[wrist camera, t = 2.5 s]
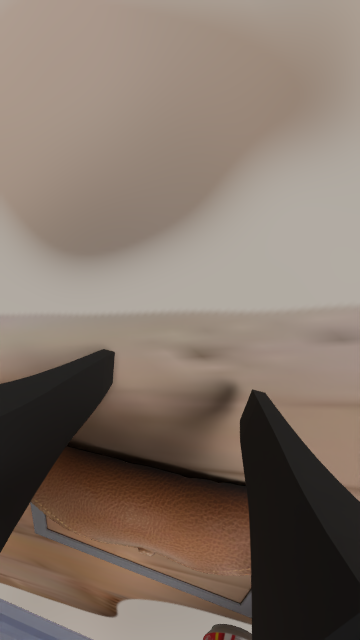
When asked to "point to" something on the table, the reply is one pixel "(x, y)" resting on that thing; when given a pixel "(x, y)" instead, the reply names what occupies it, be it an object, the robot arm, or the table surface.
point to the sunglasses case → (150, 511)
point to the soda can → (227, 633)
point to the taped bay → (139, 567)
